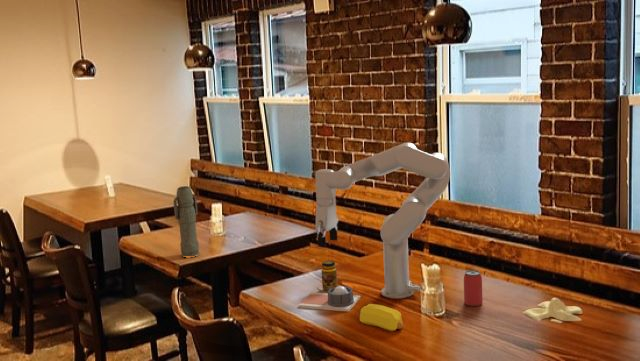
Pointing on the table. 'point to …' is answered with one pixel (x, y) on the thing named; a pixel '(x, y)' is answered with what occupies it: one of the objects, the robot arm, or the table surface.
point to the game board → (326, 307)
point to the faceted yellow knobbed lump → (381, 317)
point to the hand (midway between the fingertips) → (328, 243)
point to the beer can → (473, 288)
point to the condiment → (328, 276)
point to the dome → (340, 290)
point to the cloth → (554, 311)
